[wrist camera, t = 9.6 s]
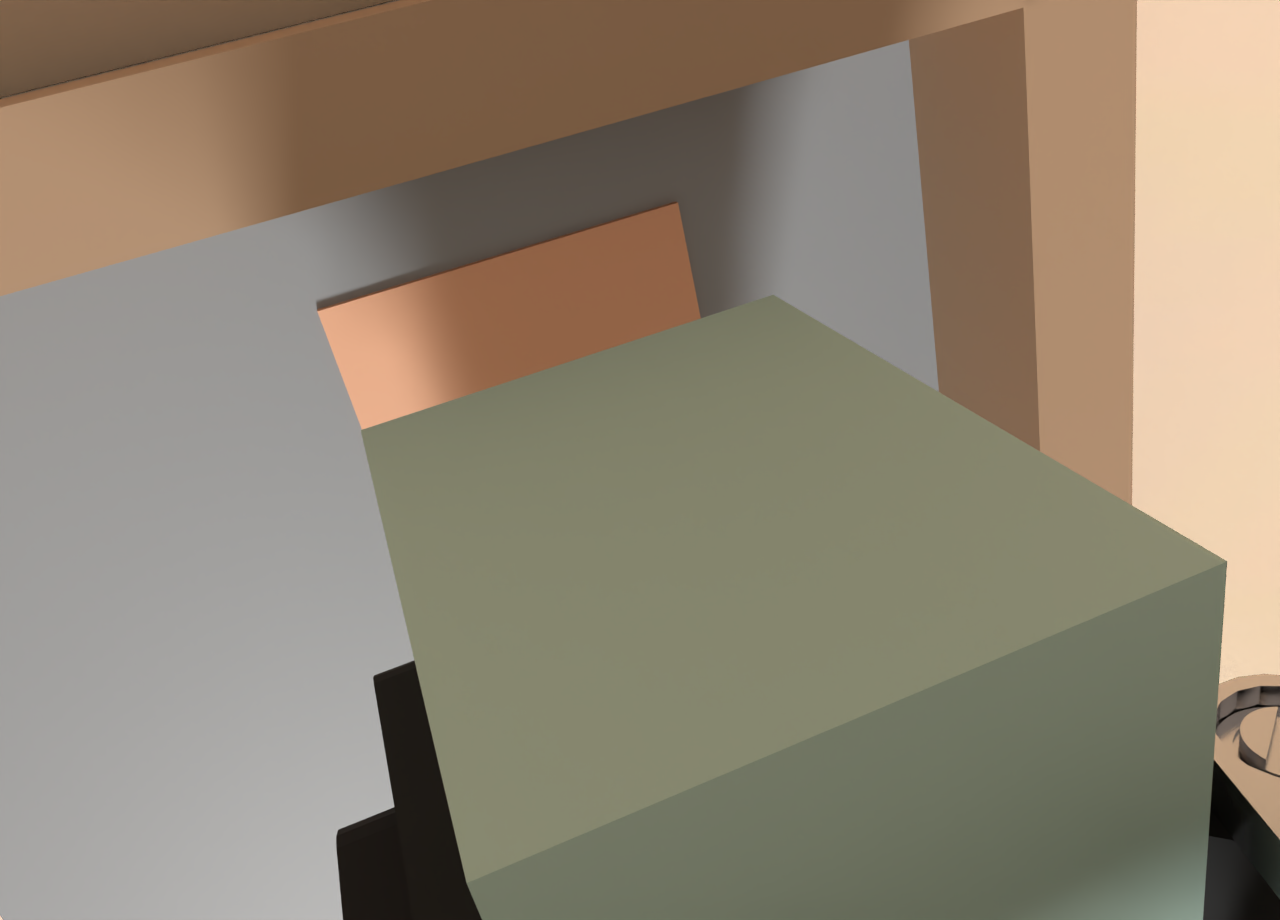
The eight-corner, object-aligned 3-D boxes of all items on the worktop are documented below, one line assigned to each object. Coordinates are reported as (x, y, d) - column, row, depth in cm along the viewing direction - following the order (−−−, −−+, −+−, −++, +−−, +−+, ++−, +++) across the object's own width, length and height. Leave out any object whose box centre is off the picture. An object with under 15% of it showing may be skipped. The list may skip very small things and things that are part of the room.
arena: (1023, 781, 23) (1128, 890, 20) (198, 1149, 19) (187, 1341, 17) (972, -144, 15) (1139, -177, 12) (-474, 216, 11) (-720, 287, 8)
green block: (773, 294, 11) (1227, 560, 6) (848, 769, 14) (1183, 1211, 9) (360, 430, 10) (466, 884, 5) (539, 903, 13) (716, 1474, 8)
